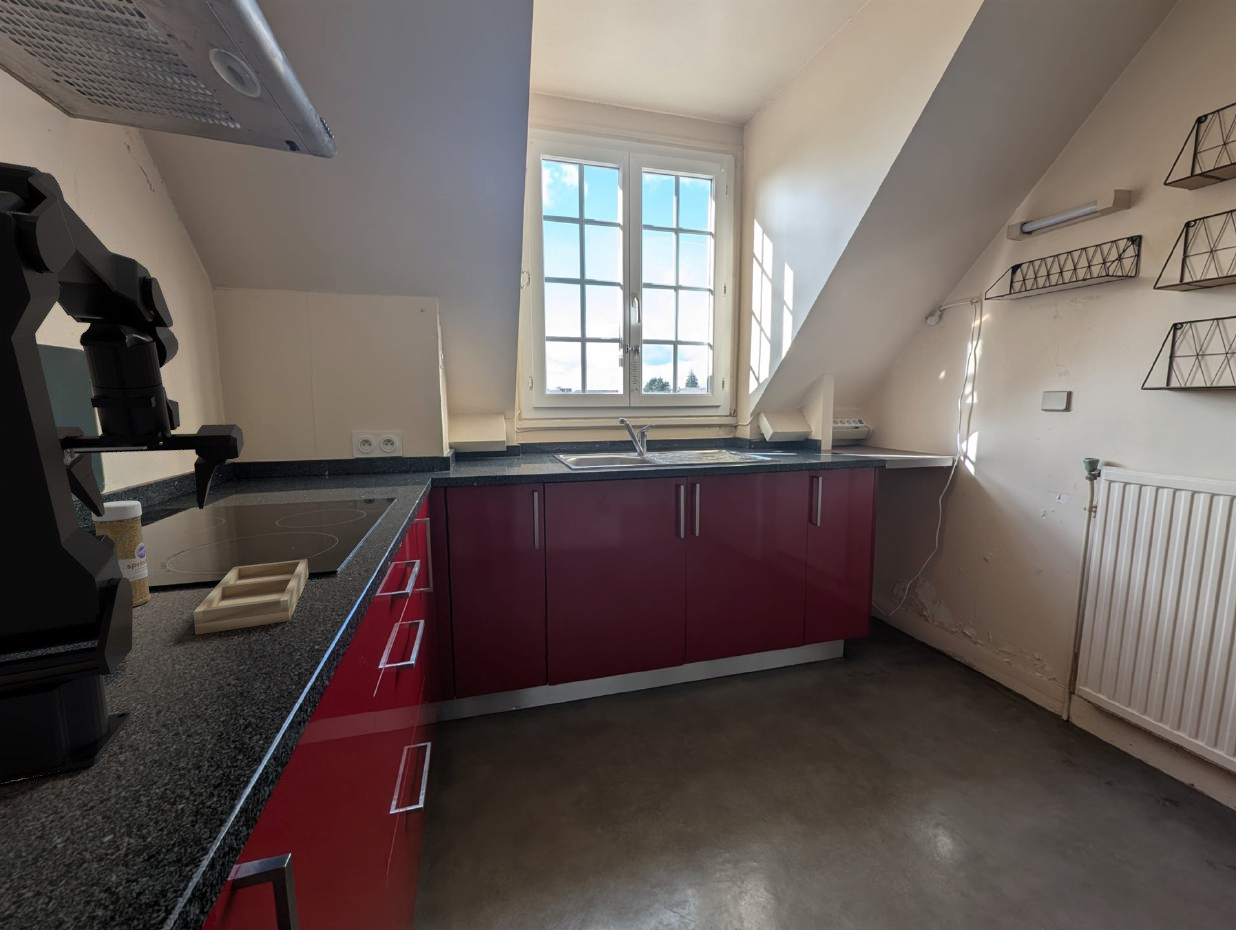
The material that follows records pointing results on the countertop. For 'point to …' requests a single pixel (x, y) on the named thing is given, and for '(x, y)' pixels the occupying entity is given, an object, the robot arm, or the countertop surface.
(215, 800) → the countertop surface
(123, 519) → the sprinkles bottle
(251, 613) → the caddy
